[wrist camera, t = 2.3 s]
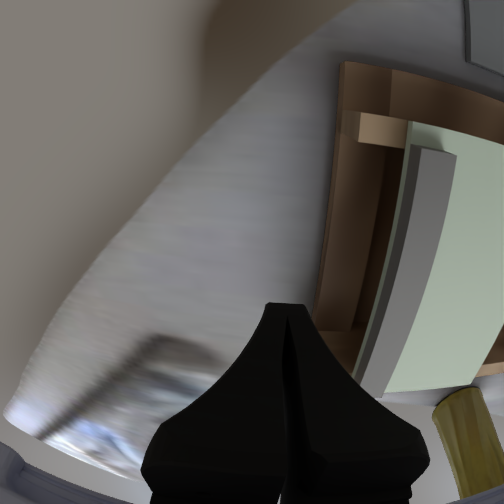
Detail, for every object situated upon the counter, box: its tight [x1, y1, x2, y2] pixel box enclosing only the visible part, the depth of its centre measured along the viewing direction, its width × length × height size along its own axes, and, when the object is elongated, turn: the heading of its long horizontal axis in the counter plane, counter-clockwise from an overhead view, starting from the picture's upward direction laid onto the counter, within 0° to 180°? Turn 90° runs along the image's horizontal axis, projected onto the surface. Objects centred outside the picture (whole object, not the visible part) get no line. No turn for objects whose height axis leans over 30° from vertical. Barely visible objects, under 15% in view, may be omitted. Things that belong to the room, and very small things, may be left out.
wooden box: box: [312, 61, 504, 377], centre depth 16 cm, size 20×20×5 cm
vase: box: [432, 387, 504, 500], centre depth 20 cm, size 6×6×14 cm
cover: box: [351, 121, 504, 398], centre depth 13 cm, size 9×15×2 cm, turn 178°
